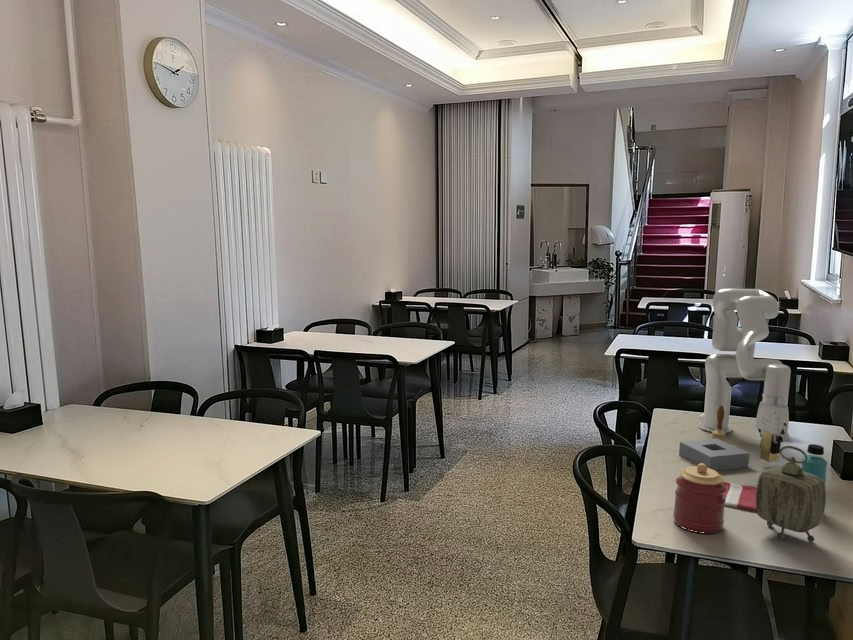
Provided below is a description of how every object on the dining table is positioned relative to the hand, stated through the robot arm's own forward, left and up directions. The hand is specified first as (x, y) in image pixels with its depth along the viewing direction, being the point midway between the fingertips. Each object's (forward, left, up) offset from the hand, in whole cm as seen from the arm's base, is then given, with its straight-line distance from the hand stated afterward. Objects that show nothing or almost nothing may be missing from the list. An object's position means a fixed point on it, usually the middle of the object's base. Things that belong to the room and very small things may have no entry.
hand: (769, 450), depth 222 cm
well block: (-10, -15, -6) cm, 19 cm away
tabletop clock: (+43, -36, -6) cm, 57 cm away
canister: (+31, -54, -6) cm, 63 cm away
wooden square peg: (0, 0, -3) cm, 3 cm away
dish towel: (+17, -32, -7) cm, 37 cm away
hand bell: (-23, -2, -6) cm, 23 cm away
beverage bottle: (+32, -16, -6) cm, 37 cm away
